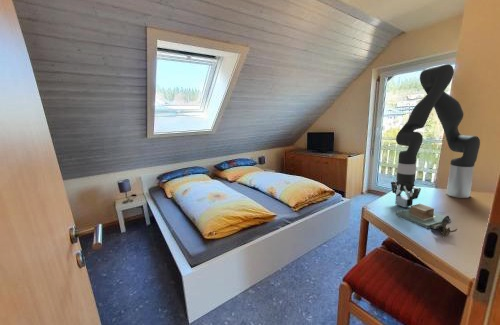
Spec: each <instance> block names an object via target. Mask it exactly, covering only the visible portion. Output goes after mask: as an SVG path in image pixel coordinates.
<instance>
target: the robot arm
mask: <svg viewBox="0 0 500 325" xmlns="http://www.w3.org/2000/svg"><path fill="white" fill-rule="evenodd" d="M454 74H455V69H454V67H453V66H452V64H449V63H444V64H440V65H436V66H435V65H434V66H431V67H427V68H425V69H423V70H421V72H420V75H419V81H420V85H421V87H422V89H423V90H424V92H425V93H426V95H425V96H424V97H423V98H422V99H421V100H420V101H419V102H418V103H417V104H416V105H415V106H414V107H413V109H412V110H411V112H410V115H409V117H408V119H407V121H406V123H404V125H403V126H402V128H401V129H399V131H398V132H397V135H396V137H395V141H396V144H397V145H399V146H405V147H407V149H406V150H401V151H400V152H399V153H398V163H397V168H396V181H395V180H394V181H391V182H390V186H391V193H393V194H395V197H396V196H401V195H402V193H403V192H405V196H407V197H408V199H407V206H408V207H411V205H413V201H414V200H416V199H418V197H419V195H420V193H421V189H422V188H421V187H417V186H415V182H416V175H417V173H416V172H417V156H418V153H419V151H420V148H421V147H422V144H423V140H424V138H423V135H422V133H421V132H419V131H416V130H419V129H423V128H425V126H426V123H427V121H428V119H429V117H430V115H431V112H432V110H433V108H434V110H435V113H436V116H437V118H438V120H439V123H440V125H441V127H442V129H443V132H444V135H445V138H446V139H445V140H446V142H447V146H448V148H449V149H450V150H451V152H454V153H462V156H460V157H457V158H456V157H455V158H452V159H451V160H450V162H449V163H450V164H449V172H448V179H447V180H448V181H447V187H446V195H447V196H449V197H453V198H456V199H457V198H459V199H467V198H470V196H471V190H472V185H473V177H474V176H473V175H474V170H475V163H476V161H477V158H478V154H479V150H480V146H481V140H480V138H479V137H478V135H468V134H467V135H466V134H465V135H463V134H461V133H460V132H459V125H460V123H461V122H462V120H463V119H464V118H463V117H464V111H463V109H462V106H461V103H460V102H459V101H458V100H457V99H456V98H455V97H453V96H452V95H450V94H449V93H447V92H445V90H446V89H447V88H448V86H449V85H450V83H451V81H452V79H453V78H454V76H455V75H454Z"/></svg>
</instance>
